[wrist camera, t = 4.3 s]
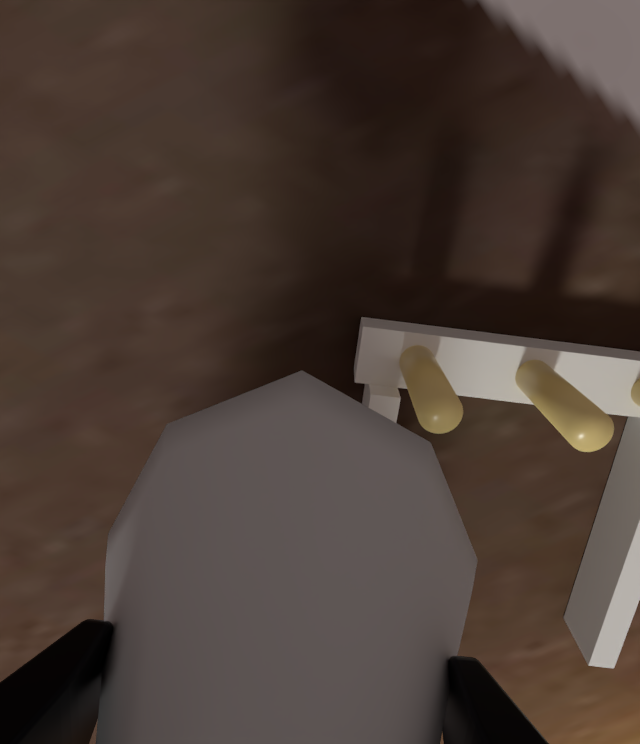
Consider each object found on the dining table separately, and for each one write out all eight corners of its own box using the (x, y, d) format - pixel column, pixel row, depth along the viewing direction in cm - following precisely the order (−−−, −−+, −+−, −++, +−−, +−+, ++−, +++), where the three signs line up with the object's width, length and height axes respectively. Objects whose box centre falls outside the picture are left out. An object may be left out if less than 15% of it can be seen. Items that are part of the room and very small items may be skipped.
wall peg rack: (597, 621, 24) (679, 758, 18) (321, 588, 24) (316, 715, 18) (689, 357, 20) (830, 424, 14) (361, 316, 20) (370, 367, 14)
